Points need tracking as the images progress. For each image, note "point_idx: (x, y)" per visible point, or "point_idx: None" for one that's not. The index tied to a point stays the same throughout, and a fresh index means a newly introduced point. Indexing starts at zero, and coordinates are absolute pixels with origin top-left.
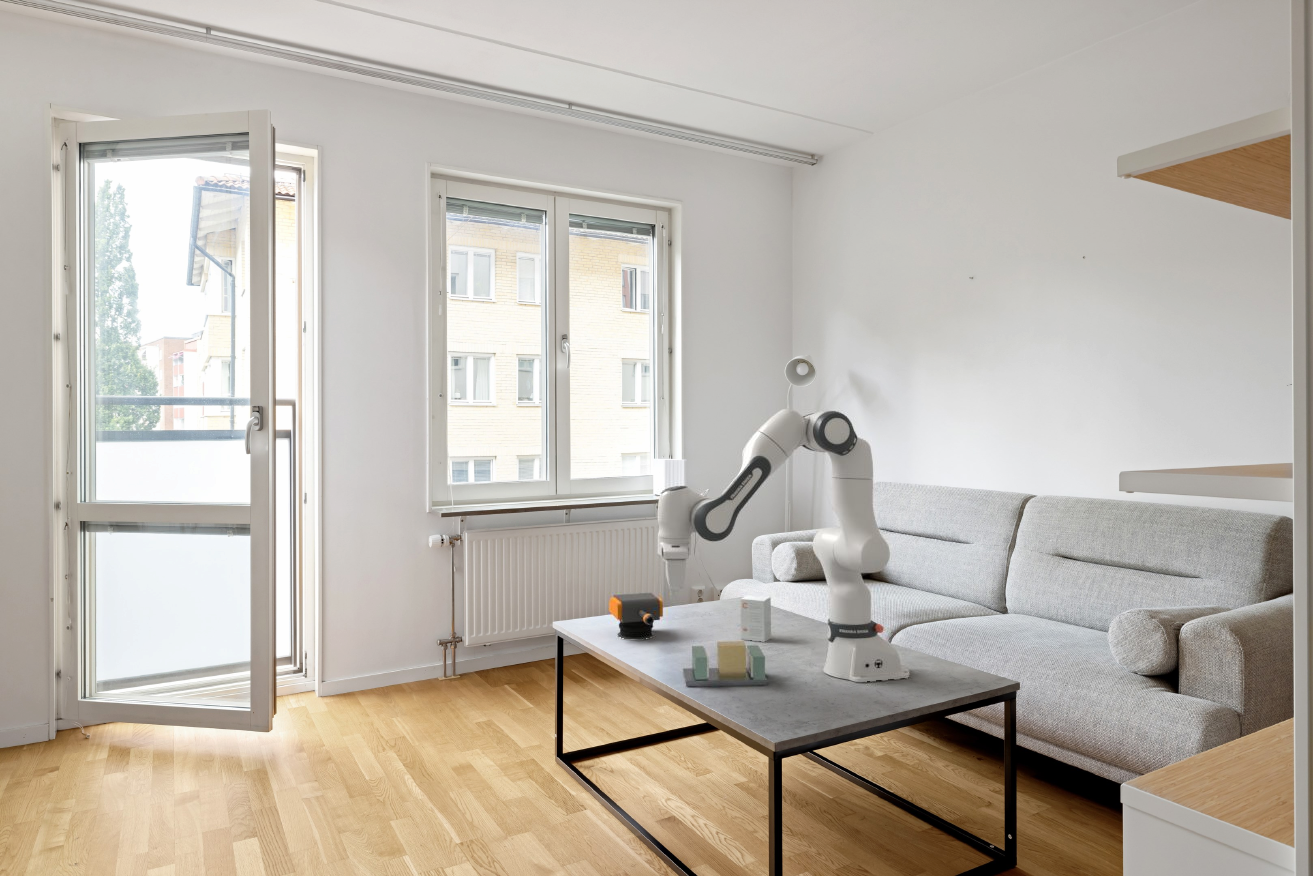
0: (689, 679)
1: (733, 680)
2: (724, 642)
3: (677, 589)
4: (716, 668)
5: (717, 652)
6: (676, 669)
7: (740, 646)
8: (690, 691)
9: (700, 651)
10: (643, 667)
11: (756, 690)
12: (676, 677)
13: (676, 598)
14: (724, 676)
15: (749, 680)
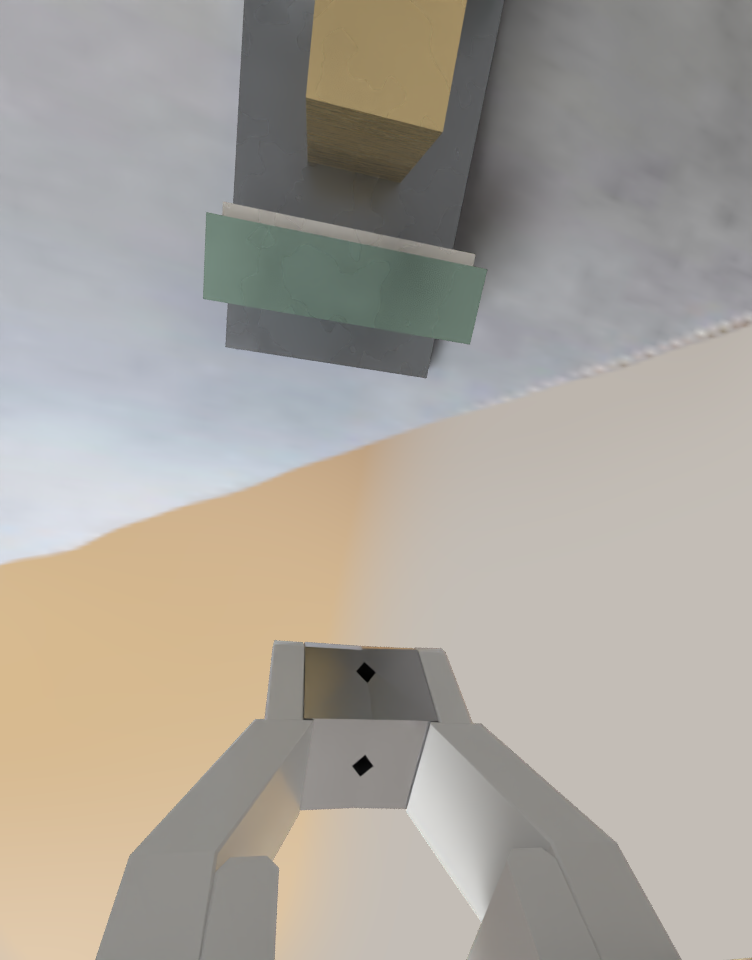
0: (411, 356)
1: (479, 119)
2: (345, 34)
3: (583, 837)
4: (247, 147)
5: (311, 127)
6: (144, 358)
7: None
8: (483, 368)
9: (345, 274)
10: (102, 503)
11: (572, 16)
12: (278, 386)
13: (449, 682)
14: None
15: (500, 8)
